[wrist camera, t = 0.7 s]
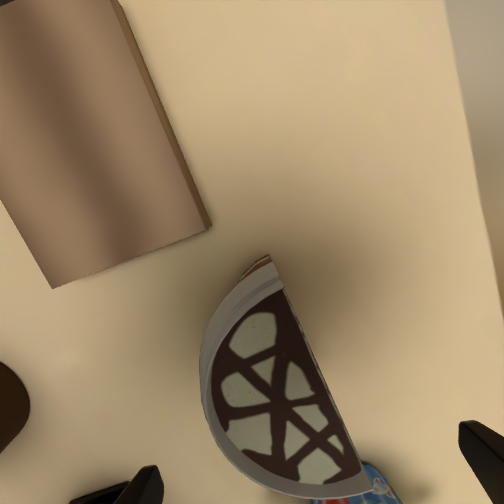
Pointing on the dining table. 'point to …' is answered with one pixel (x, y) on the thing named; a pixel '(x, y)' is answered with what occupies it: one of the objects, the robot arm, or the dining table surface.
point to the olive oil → (11, 406)
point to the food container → (274, 395)
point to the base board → (86, 141)
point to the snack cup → (380, 500)
